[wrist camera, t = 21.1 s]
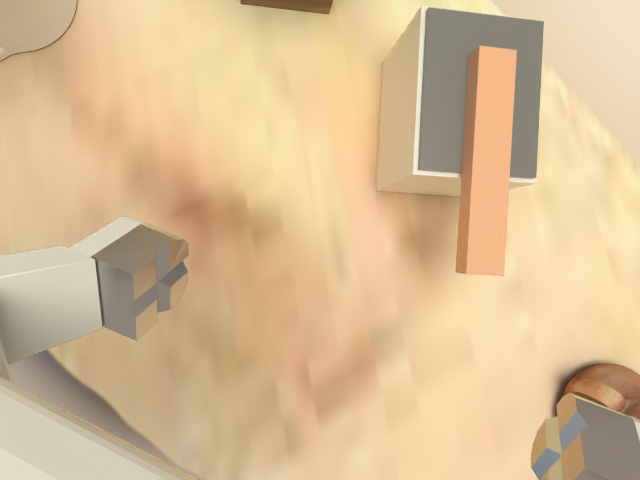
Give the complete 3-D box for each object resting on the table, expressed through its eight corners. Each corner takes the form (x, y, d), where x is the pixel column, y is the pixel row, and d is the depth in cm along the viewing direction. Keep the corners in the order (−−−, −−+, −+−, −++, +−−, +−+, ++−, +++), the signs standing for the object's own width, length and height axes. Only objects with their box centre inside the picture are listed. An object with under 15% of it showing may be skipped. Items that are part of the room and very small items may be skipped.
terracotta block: (491, 274, 49) (503, 276, 46) (455, 272, 48) (466, 273, 46) (503, 59, 49) (516, 50, 46) (468, 55, 48) (479, 45, 46)
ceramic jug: (661, 409, 69) (762, 449, 55) (601, 482, 68) (690, 543, 54) (581, 328, 68) (663, 348, 54) (519, 401, 67) (587, 442, 53)
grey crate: (470, 197, 66) (540, 182, 49) (376, 190, 64) (415, 173, 47) (477, 72, 66) (548, 17, 49) (382, 63, 64) (424, 1, 48)
